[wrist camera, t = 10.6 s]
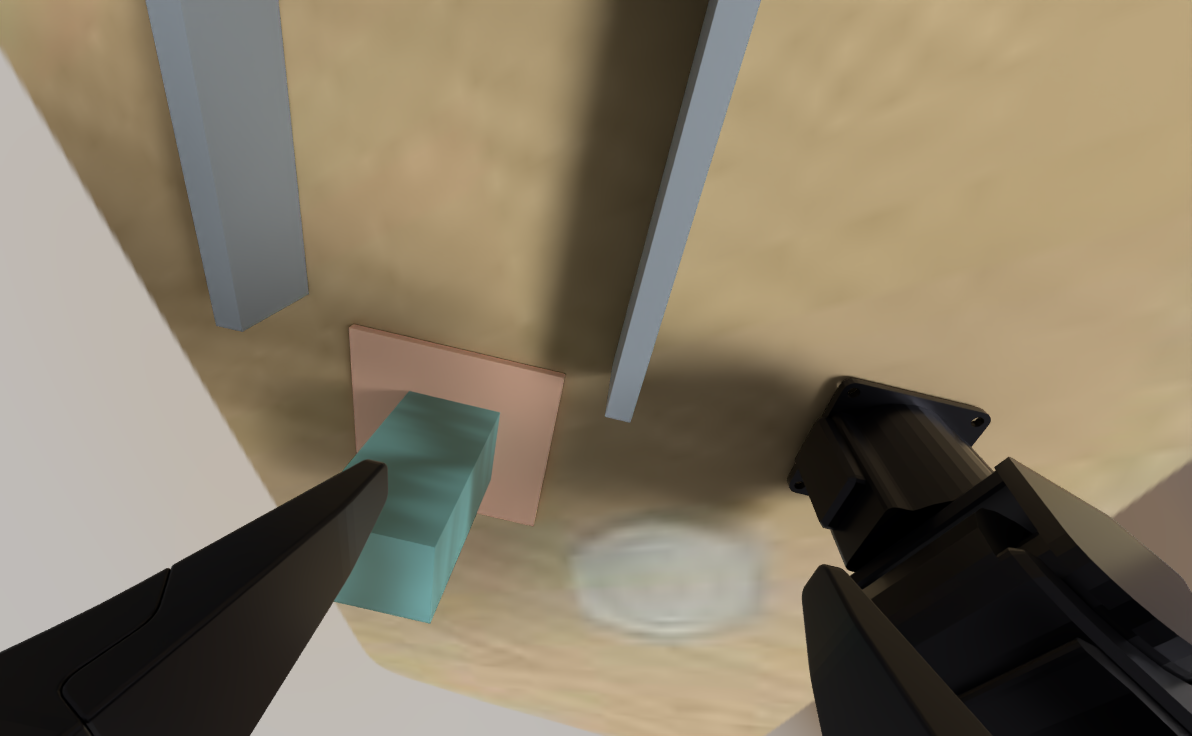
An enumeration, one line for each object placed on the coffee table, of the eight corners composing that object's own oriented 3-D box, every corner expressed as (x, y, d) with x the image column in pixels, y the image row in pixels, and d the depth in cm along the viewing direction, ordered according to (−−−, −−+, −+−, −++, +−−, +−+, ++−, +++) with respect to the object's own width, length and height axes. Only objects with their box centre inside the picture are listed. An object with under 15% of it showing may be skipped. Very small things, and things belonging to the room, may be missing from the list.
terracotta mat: (565, 373, 22) (564, 378, 22) (534, 520, 27) (533, 526, 27) (353, 324, 22) (348, 327, 22) (362, 481, 27) (358, 486, 27)
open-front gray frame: (771, -100, 14) (812, -167, 10) (633, 370, 22) (630, 422, 18) (219, -239, 13) (68, -358, 10) (287, 288, 21) (216, 325, 18)
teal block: (500, 412, 23) (435, 547, 16) (490, 479, 25) (429, 623, 18) (409, 390, 23) (304, 516, 16) (407, 460, 25) (315, 597, 18)
